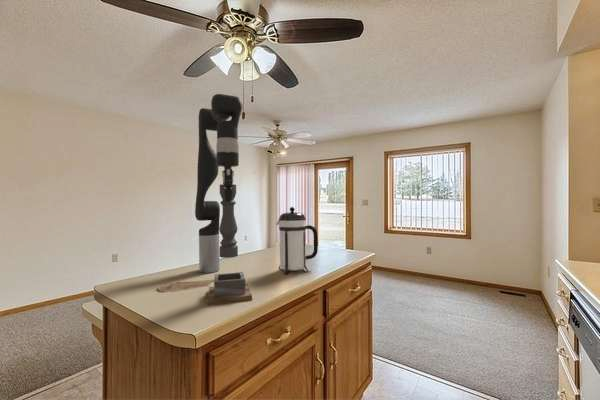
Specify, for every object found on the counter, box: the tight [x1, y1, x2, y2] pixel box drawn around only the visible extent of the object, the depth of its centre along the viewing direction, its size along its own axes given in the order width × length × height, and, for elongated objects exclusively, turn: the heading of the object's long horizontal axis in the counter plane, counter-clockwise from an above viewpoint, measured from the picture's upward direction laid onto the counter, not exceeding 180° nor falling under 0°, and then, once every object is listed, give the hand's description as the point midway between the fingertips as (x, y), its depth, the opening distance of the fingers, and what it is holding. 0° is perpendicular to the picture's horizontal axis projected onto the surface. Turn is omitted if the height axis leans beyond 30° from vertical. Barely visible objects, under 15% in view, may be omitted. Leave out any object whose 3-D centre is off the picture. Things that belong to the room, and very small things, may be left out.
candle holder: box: [219, 183, 239, 259], centre depth 97 cm, size 6×6×25 cm
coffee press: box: [275, 206, 319, 275], centre depth 130 cm, size 17×16×30 cm
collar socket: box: [207, 271, 253, 306], centre depth 96 cm, size 14×14×6 cm
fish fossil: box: [157, 279, 214, 293], centre depth 109 cm, size 26×10×1 cm, turn 125°
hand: (228, 200), depth 96 cm, fingers closed on candle holder, 5 cm apart
